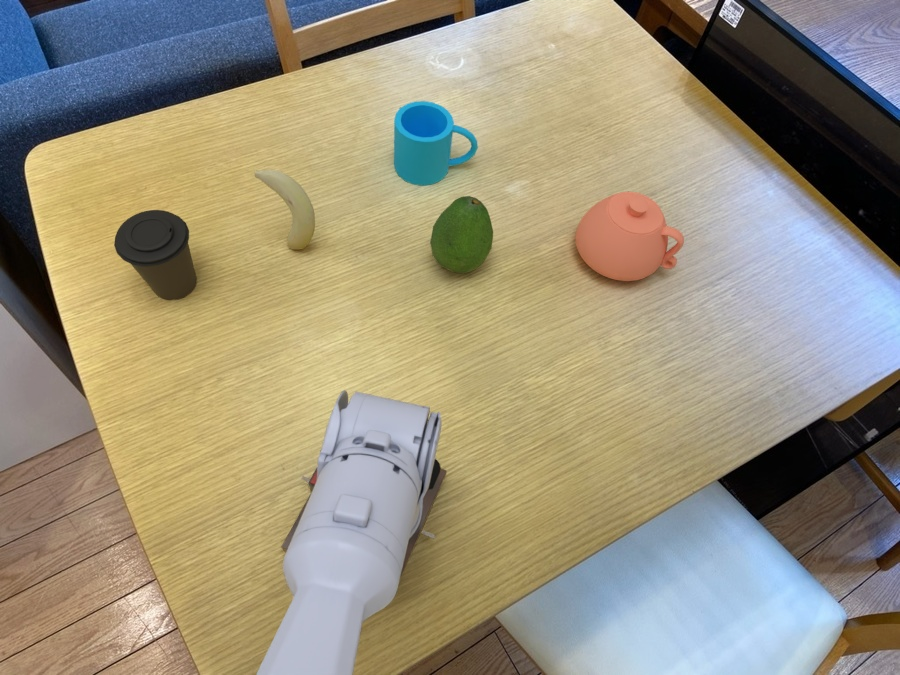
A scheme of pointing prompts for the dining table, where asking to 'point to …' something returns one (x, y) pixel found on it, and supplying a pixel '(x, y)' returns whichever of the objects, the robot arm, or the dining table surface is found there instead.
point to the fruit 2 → (462, 235)
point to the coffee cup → (158, 252)
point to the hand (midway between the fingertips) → (384, 535)
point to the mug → (426, 143)
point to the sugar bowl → (626, 237)
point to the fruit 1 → (292, 206)
